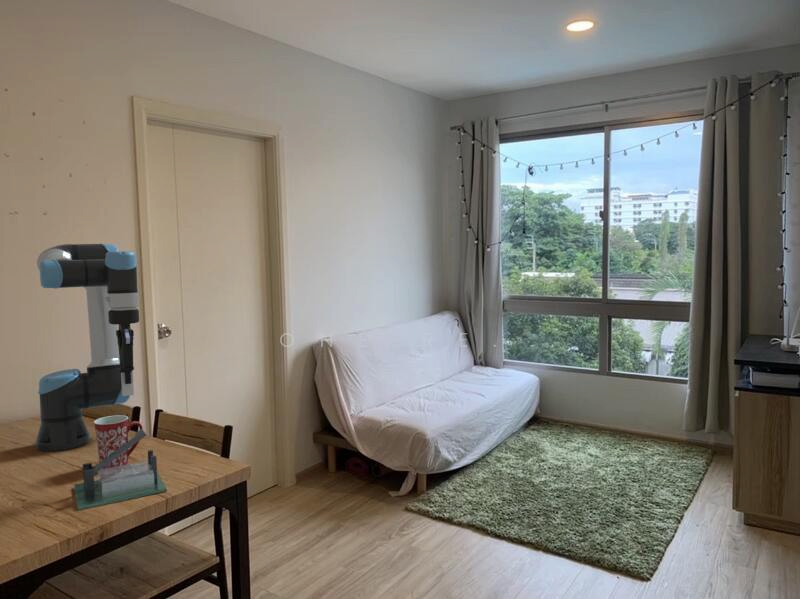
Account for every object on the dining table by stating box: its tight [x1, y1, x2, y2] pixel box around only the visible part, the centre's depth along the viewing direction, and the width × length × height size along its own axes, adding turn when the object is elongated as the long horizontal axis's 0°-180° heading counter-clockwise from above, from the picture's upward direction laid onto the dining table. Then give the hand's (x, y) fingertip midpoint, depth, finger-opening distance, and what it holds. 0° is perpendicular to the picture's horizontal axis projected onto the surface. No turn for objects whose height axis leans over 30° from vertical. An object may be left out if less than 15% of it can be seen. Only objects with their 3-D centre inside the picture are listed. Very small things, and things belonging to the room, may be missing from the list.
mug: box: [93, 414, 144, 469], centre depth 172 cm, size 13×9×14 cm
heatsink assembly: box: [73, 449, 168, 511], centre depth 153 cm, size 20×16×8 cm
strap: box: [92, 428, 147, 475], centre depth 152 cm, size 17×3×2 cm
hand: (128, 395), depth 162 cm, fingers closed
